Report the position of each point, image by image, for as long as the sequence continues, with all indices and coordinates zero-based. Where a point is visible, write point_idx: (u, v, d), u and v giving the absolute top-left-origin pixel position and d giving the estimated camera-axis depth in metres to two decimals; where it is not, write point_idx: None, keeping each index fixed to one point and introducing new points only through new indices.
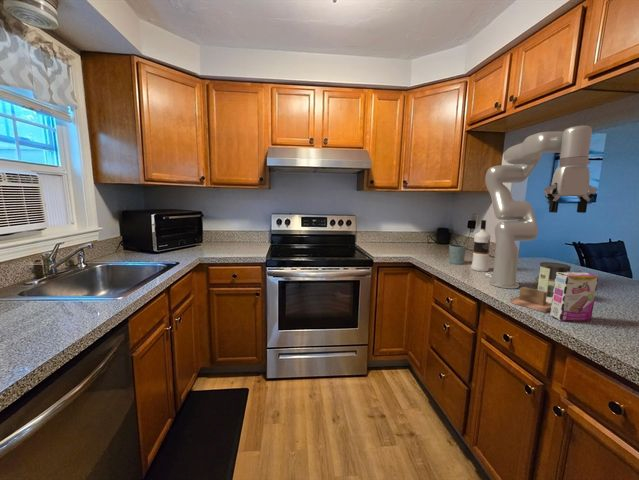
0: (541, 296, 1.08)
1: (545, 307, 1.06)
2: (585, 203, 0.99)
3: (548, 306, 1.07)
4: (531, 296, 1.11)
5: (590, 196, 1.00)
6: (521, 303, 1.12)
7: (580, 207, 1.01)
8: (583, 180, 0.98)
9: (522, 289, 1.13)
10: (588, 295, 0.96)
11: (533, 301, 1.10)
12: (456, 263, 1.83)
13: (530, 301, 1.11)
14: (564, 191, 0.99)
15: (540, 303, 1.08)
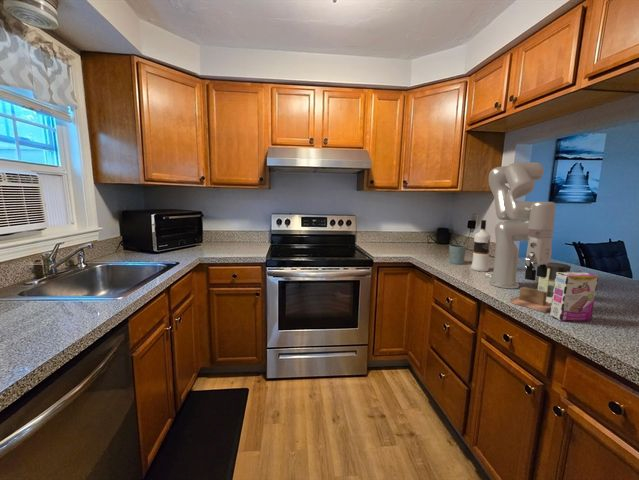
0: (541, 296, 1.08)
1: (545, 307, 1.06)
2: None
3: (548, 306, 1.07)
4: (531, 296, 1.11)
5: None
6: (521, 303, 1.12)
7: None
8: None
9: (522, 289, 1.13)
10: (588, 295, 0.96)
11: (533, 301, 1.10)
12: (456, 263, 1.83)
13: (530, 301, 1.11)
14: None
15: (540, 303, 1.08)
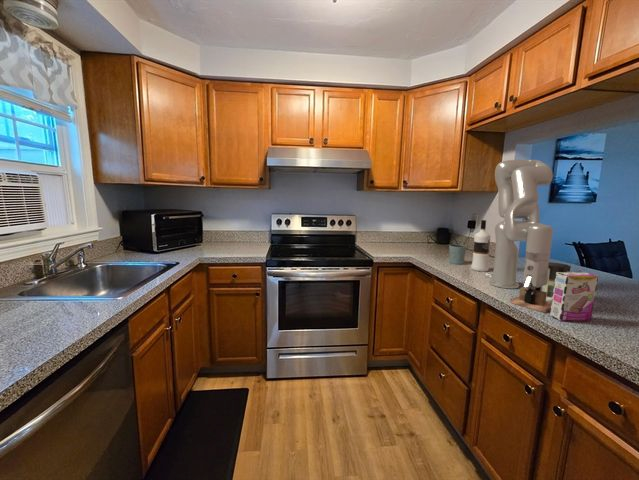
0: (541, 296, 1.08)
1: (545, 307, 1.06)
2: None
3: (548, 306, 1.07)
4: None
5: None
6: (521, 303, 1.12)
7: None
8: None
9: (522, 289, 1.13)
10: (588, 295, 0.96)
11: None
12: (456, 263, 1.83)
13: None
14: None
15: (540, 303, 1.08)
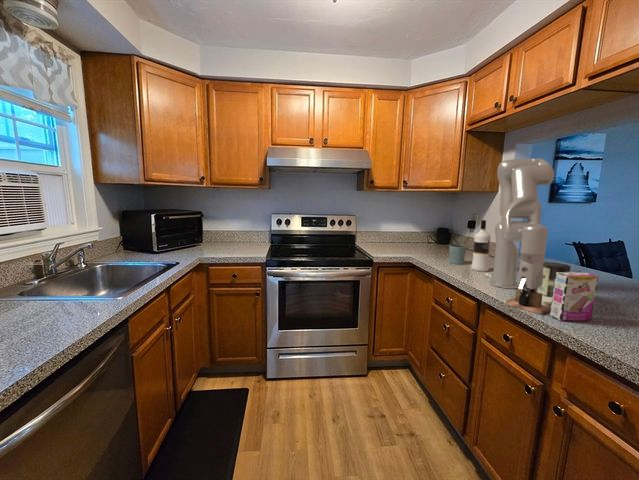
0: (536, 298, 1.06)
1: (540, 309, 1.04)
2: None
3: (544, 308, 1.05)
4: None
5: None
6: (516, 305, 1.10)
7: None
8: None
9: (517, 291, 1.11)
10: (588, 295, 0.96)
11: None
12: (456, 263, 1.83)
13: None
14: None
15: (535, 305, 1.06)
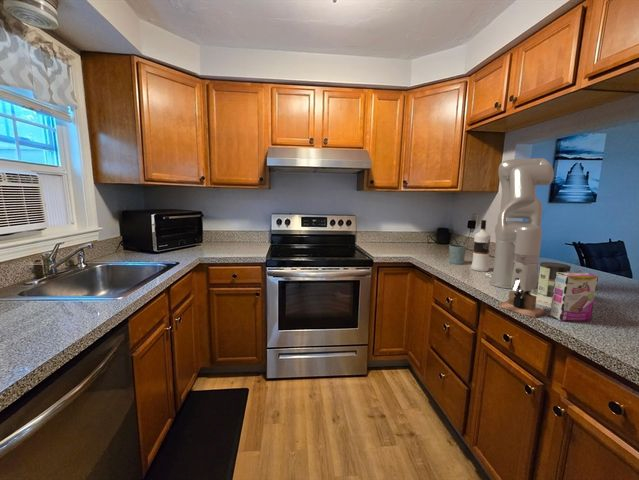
0: (530, 300, 1.03)
1: (534, 312, 1.02)
2: None
3: (538, 311, 1.03)
4: None
5: None
6: (510, 307, 1.07)
7: None
8: None
9: (511, 293, 1.09)
10: (588, 295, 0.96)
11: None
12: (456, 263, 1.83)
13: None
14: None
15: (529, 307, 1.04)
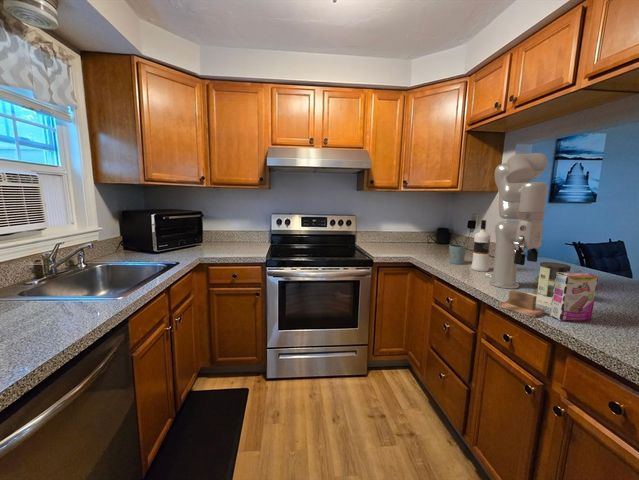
0: (530, 300, 1.03)
1: (534, 312, 1.02)
2: None
3: (538, 311, 1.03)
4: (520, 300, 1.06)
5: None
6: (510, 307, 1.07)
7: None
8: None
9: (511, 293, 1.09)
10: (588, 295, 0.96)
11: (522, 305, 1.06)
12: (456, 263, 1.83)
13: (519, 305, 1.07)
14: None
15: (529, 307, 1.04)
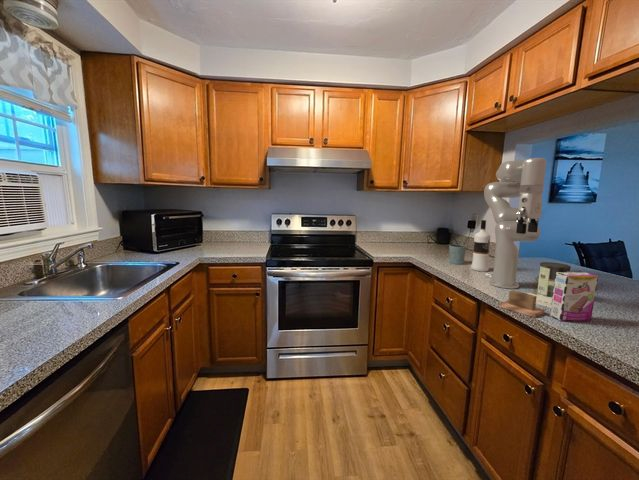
0: (530, 300, 1.03)
1: (534, 312, 1.02)
2: None
3: (538, 311, 1.03)
4: (520, 300, 1.06)
5: None
6: (510, 307, 1.07)
7: None
8: None
9: (511, 293, 1.09)
10: (588, 295, 0.96)
11: (522, 305, 1.06)
12: (456, 263, 1.83)
13: (519, 305, 1.07)
14: None
15: (529, 307, 1.04)
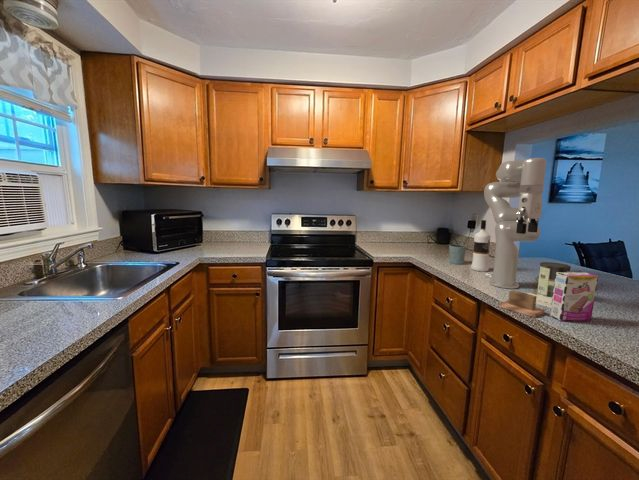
0: (530, 300, 1.03)
1: (534, 312, 1.02)
2: None
3: (538, 311, 1.03)
4: (520, 300, 1.06)
5: None
6: (510, 307, 1.07)
7: None
8: None
9: (511, 293, 1.09)
10: (588, 295, 0.96)
11: (522, 305, 1.06)
12: (456, 263, 1.83)
13: (519, 305, 1.07)
14: None
15: (529, 307, 1.04)
